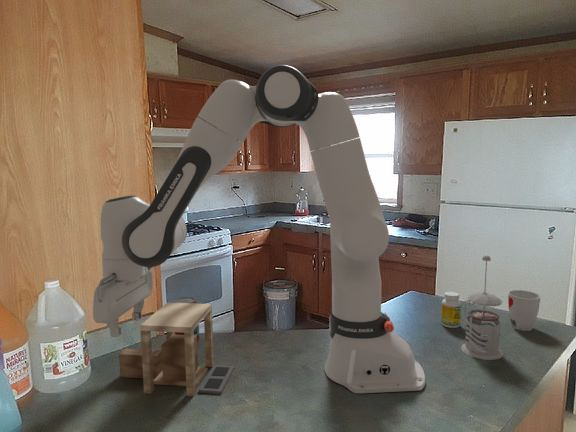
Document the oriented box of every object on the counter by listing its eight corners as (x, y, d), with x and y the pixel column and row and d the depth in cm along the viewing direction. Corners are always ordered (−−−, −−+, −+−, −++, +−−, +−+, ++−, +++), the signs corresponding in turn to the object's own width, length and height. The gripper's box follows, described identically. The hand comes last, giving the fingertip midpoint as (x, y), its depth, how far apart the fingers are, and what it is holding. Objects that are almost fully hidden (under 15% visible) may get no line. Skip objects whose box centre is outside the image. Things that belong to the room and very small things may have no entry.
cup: (508, 320, 127) (510, 288, 125) (539, 326, 122) (541, 293, 121) (504, 328, 120) (506, 295, 119) (536, 335, 115) (539, 300, 114)
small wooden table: (213, 364, 101) (211, 304, 99) (193, 396, 87) (190, 327, 85) (170, 361, 102) (167, 302, 100) (144, 393, 89) (140, 325, 87)
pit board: (234, 368, 99) (234, 365, 99) (221, 394, 88) (221, 390, 88) (214, 367, 99) (213, 364, 99) (198, 392, 89) (198, 389, 88)
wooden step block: (207, 370, 98) (205, 335, 96) (197, 386, 91) (195, 348, 89) (130, 366, 100) (128, 331, 99) (115, 381, 93) (112, 344, 92)
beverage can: (193, 349, 109) (191, 305, 108) (169, 347, 111) (167, 303, 109) (203, 338, 116) (201, 296, 114) (180, 336, 117) (179, 295, 115)
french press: (483, 363, 100) (489, 261, 97) (447, 344, 111) (451, 252, 107) (512, 355, 104) (518, 257, 101) (474, 337, 115) (478, 248, 111)
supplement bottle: (445, 319, 127) (447, 289, 126) (463, 324, 123) (464, 293, 122) (437, 324, 124) (438, 293, 122) (455, 330, 120) (456, 297, 118)
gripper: (112, 282, 82) (115, 348, 84) (157, 258, 102) (159, 312, 104) (82, 280, 83) (86, 346, 85) (132, 257, 103) (135, 310, 105)
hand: (126, 327), depth 95 cm, fingers open, 8 cm apart
